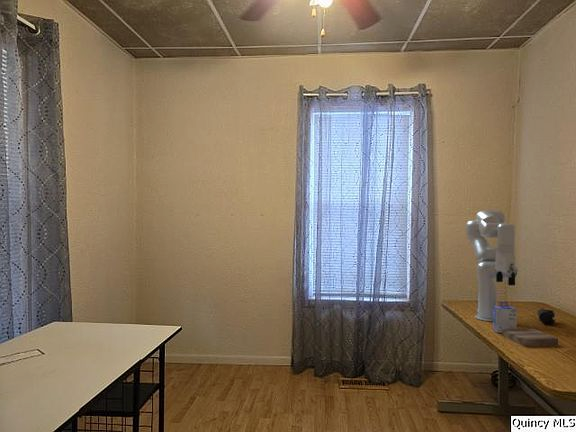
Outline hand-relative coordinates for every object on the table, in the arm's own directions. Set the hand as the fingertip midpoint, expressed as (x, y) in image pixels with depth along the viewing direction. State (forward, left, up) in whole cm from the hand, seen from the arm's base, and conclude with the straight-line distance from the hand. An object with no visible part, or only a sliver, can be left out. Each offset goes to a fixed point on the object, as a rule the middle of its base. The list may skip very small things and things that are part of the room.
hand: (505, 283), depth 207 cm
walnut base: (+14, +3, -24) cm, 28 cm away
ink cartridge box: (0, 0, -24) cm, 24 cm away
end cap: (-15, +33, -24) cm, 44 cm away
